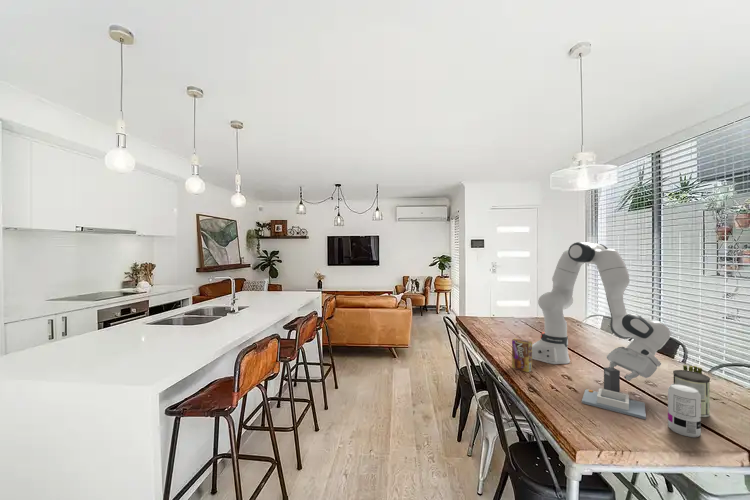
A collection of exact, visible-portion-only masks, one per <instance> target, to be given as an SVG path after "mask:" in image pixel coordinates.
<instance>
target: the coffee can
mask: <svg viewBox="0 0 750 500" xmlns="http://www.w3.org/2000/svg"><path fill="white" fill-rule="evenodd" d="M672 372H673V373H672V374H673V384H681V385H686V386H690V387H693V388H695V389H697V390H698V392H699V393H700V395H701V418H709V417H710V415H711V414H710V413H711V412H710V403H711V402H710V392H711V391H710V386H711V384H710V381H711V378H710V377H709V376H708V375H706V374H700V373H697V372H694V371H693V372H692V371H689V370H688V369H687V370H684V369H675V370H673V371H672Z"/></svg>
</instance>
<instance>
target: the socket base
mask: <svg viewBox="0 0 750 500" xmlns="http://www.w3.org/2000/svg"><path fill="white" fill-rule="evenodd" d="M581 404H585V405H589V406H591V407H595V408H601V409H604V410H608V411H611V412H616V413H620V414H624V415H628V416H630V417H635V418H639V419H642V420H646V419H647V415H646V403H645V402H643V401H639V400H634V399H630V395H629V393H622V392H620V393H619V392H614V391H610V390H606V389H604V388H600V387H598V391H596V390H593V389H587V388H586V389H585V390H584V393H583V396H582V399H581Z"/></svg>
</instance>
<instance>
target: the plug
mask: <svg viewBox="0 0 750 500" xmlns="http://www.w3.org/2000/svg"><path fill="white" fill-rule="evenodd" d="M620 374H621V371H620V370H619V369H616V368H615V367H614V368H613V367H609V366H608V367H603V389H606V390H610V391H614V392H619V393H621V392H620V391H621V390H620V385H621V382H620V381H621V380H620V379H621V375H620Z"/></svg>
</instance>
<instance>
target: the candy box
mask: <svg viewBox="0 0 750 500" xmlns="http://www.w3.org/2000/svg"><path fill="white" fill-rule="evenodd" d="M532 344H533V341H530V340H526V339H522V338H512V339H511V368H512V369H515V370H519V371H522V372H526V373H530V372H532V371H533V365H532V364H533V362H532V361H533V359H532Z"/></svg>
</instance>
